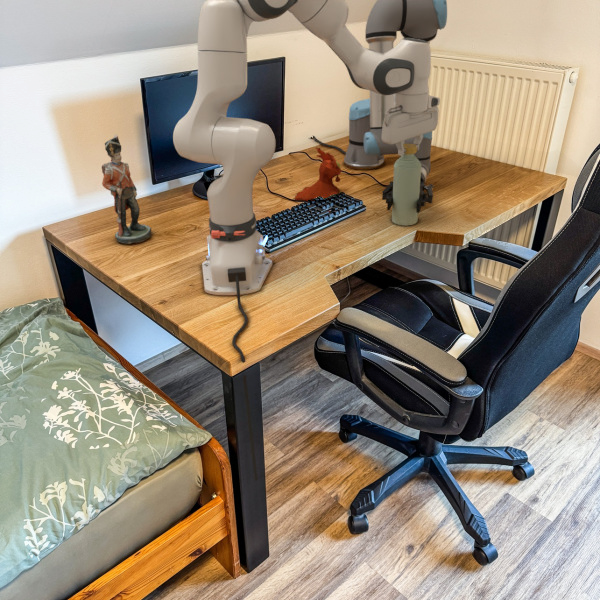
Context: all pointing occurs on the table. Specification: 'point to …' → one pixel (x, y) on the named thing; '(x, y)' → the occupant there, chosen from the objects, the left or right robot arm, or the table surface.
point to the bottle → (406, 190)
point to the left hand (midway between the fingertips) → (408, 152)
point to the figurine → (123, 195)
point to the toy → (323, 179)
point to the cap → (410, 148)
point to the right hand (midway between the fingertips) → (403, 207)
